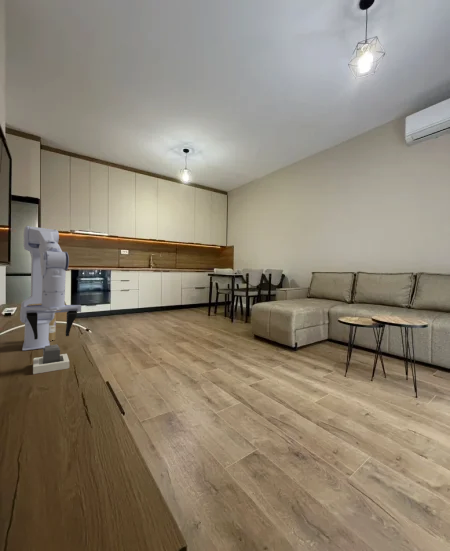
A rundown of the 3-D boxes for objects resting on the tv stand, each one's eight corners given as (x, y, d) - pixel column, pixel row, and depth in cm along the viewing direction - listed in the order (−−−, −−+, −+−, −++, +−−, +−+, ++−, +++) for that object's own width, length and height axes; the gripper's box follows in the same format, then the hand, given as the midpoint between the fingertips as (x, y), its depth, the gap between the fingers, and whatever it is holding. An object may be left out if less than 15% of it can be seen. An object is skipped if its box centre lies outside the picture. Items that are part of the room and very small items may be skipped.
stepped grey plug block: (42, 365, 76) (43, 345, 76) (58, 363, 78) (59, 344, 78) (42, 370, 72) (43, 349, 72) (59, 367, 75) (60, 347, 75)
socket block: (33, 364, 76) (33, 358, 76) (66, 359, 81) (66, 353, 81) (33, 374, 69) (33, 366, 69) (69, 368, 74) (69, 361, 74)
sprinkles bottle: (55, 341, 102) (56, 307, 102) (41, 342, 99) (42, 308, 99) (55, 338, 105) (56, 306, 105) (42, 339, 103) (43, 306, 103)
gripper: (21, 293, 67) (20, 343, 68) (83, 292, 76) (81, 337, 76) (23, 291, 73) (21, 337, 73) (80, 290, 82) (78, 332, 82)
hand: (52, 337), depth 75 cm, fingers open, 7 cm apart
